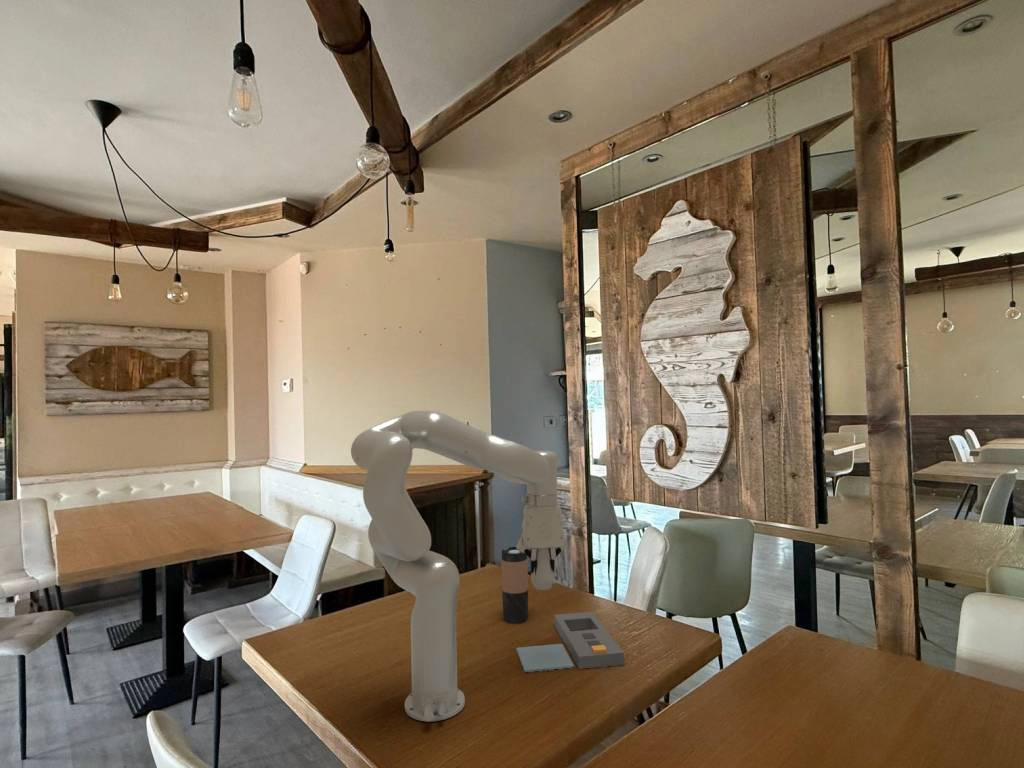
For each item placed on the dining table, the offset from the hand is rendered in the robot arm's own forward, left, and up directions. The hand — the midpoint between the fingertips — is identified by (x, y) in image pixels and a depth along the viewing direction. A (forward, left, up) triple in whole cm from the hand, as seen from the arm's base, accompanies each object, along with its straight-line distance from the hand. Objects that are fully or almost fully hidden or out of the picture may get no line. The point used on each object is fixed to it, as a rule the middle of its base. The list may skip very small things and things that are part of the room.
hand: (542, 574), depth 138 cm
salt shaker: (0, 0, -3) cm, 3 cm away
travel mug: (+26, +3, -21) cm, 33 cm away
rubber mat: (0, 0, -21) cm, 21 cm away
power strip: (+6, -12, -21) cm, 25 cm away
